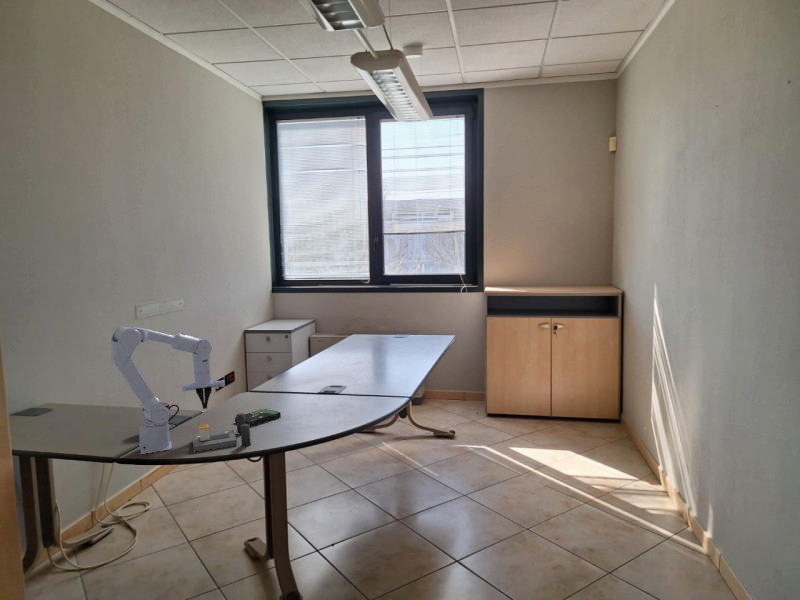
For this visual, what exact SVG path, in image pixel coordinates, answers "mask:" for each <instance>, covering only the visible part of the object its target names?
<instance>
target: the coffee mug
mask: <svg viewBox="0 0 800 600" xmlns="http://www.w3.org/2000/svg"><path fill="white" fill-rule="evenodd" d="M160 402H161V404H162V405H163V406H164V407H166V408H168V409H169V411H170V410H171V408H173V407H176V408H177V410H176V412H175V413H174V414H173V415H172V416H170V418H169V420H168V423H169V422H170V421H171V420H172V419H173V418H174V417H175V416H177V414H178V413H179V411H180V407H179V406H178V405H177V404H171V405H170V402H168V401H160Z"/></svg>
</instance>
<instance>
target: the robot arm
mask: <svg viewBox="0 0 800 600" xmlns="http://www.w3.org/2000/svg"><path fill="white" fill-rule="evenodd" d="M110 341H111V360H112V362H113V364H114V366H115V367H116V368H117V369H118V371H119V373H120V375H121V376H122V377H123V379H124V381H125V382H126V383H127V385H128V387H129V388H130V390H131V392H132V393H133V395H134V396H135V397H136V399H137V400H138V402H139V406H140V408H141V412H142V416H143V417H144V419H145V424H144V425H143V424H142V425H139V427H138V436H139V444H138V445H139V449H140V455H146V453H148V454H152V452H154V453H158V452H157V451H160V452H165V451H164V450H166V451H170V450H172V441H171V439H170V427H169V422H168V420H169V419H170V418H171V411H170V410H169V409H168V408H166V407H164V406H163V405H162V404H161V402H162V401H160V400H159V399H158V398H157V397H156V396H155V394H154V393H153V391H152V389H151V388H150V386H149V385H148V383H147V382H146V380H145V379H144V377H143V376H142V374H141V372H140V371H139V370H138V368H137V366H136V365H135V363H134V362H133V360H132V355H133V353H134V352H135V350H136V349H137V348H138V346H139V345H140V344H141V343H143V344H144V343H146V342H148V341H153V342H158V343H163V344H167V345H170V346H171V348H172V349H173V350H175V351H176V350H177V351H182V352H186V353H190V354H191V353H192V360H193V371H194V372H193V376H194V382H193V383H188V384H182V385H181V392H182V393H183V392H184V393H185V392H186V391H187V392H188V391H195V392H196V394H197V396H198V398H199V399H200V402H201V405H202V409H203V410H205V409H208V403H209V399H210V396H211V394H212V391H213V389H212V388H219V387H221V388H223V387H225V386H226V385H225V380H224V379H223V380H212V371H211V369H212V368H211V357H210V355H211V352H212V350H213V345H212V343H211V342H210V341H209V340H207V339H204V338H200V337H199V336H197V335H194V336H192V335H188V334H187V332H183V331H181V332H180V333H179V332H176V333H175V334H173V335H172V334H167V333H163V332H160V331H156V330H152V329H148V328H144V327H143V328H142V327H134V326H132V327H129V326H126V325H123V326H122V325H121V326H119V327H117V328H116V329H115V330H114V332H113V334H112V336H111V338H110Z"/></svg>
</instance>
